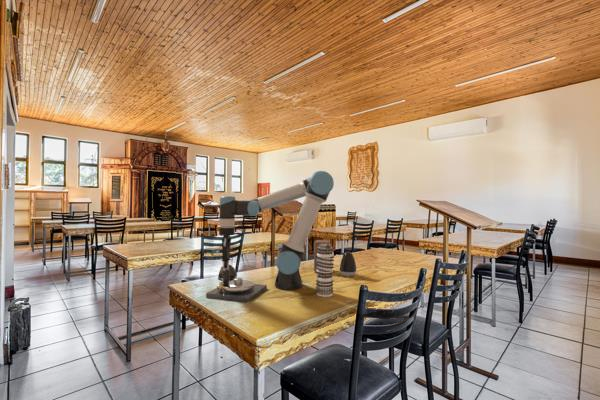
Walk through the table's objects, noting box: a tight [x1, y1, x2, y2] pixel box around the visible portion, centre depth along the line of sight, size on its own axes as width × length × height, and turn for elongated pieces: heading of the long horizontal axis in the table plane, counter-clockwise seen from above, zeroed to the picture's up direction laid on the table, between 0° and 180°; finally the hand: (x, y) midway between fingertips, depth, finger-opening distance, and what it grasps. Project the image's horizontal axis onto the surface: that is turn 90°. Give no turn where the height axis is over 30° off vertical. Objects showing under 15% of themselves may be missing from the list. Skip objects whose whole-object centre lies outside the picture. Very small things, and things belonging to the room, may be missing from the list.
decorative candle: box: [315, 243, 335, 298], centre depth 148 cm, size 9×9×25 cm
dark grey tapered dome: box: [339, 251, 357, 278], centre depth 185 cm, size 10×10×15 cm
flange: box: [215, 270, 255, 292], centre depth 149 cm, size 18×16×9 cm
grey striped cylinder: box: [313, 239, 331, 273], centre depth 197 cm, size 10×10×20 cm
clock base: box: [205, 281, 268, 303], centre depth 149 cm, size 22×22×7 cm
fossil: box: [217, 263, 238, 281], centre depth 176 cm, size 11×9×10 cm
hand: (225, 273), depth 149 cm, fingers closed
